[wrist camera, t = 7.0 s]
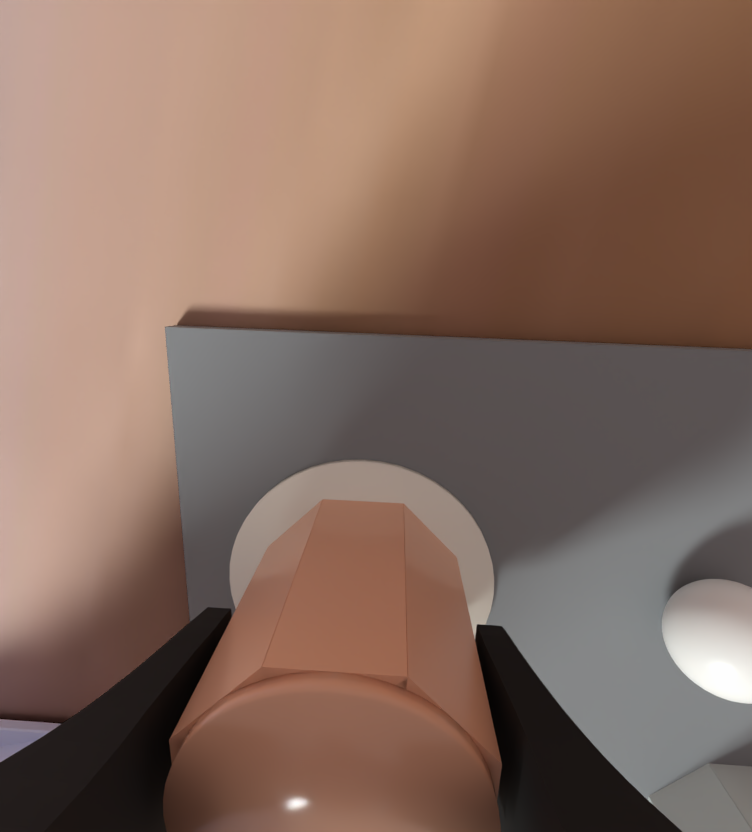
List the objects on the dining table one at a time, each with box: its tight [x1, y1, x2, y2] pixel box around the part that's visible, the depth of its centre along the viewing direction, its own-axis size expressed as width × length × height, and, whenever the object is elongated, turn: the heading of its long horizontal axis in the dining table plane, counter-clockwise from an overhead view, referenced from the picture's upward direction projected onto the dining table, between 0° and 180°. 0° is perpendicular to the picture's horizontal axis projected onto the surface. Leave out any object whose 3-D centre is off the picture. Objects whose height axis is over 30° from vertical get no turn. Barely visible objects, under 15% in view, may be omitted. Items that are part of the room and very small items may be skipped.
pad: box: [229, 459, 494, 638], centre depth 14 cm, size 8×8×1 cm
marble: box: [662, 579, 752, 704], centre depth 12 cm, size 3×3×3 cm
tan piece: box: [163, 499, 502, 832], centre depth 11 cm, size 6×6×6 cm
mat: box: [165, 325, 752, 800], centre depth 15 cm, size 22×20×1 cm
